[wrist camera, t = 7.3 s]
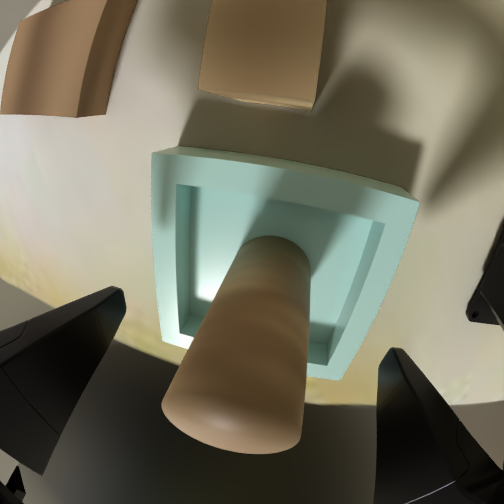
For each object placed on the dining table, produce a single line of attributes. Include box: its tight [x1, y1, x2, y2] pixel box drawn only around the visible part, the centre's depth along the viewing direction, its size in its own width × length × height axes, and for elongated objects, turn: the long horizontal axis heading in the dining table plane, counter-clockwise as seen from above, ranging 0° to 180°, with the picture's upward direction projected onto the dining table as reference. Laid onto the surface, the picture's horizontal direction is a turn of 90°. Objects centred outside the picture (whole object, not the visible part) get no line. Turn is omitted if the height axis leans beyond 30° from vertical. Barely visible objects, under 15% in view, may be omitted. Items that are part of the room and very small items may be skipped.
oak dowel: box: [162, 235, 311, 454], centre depth 8 cm, size 3×3×7 cm
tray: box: [151, 146, 420, 380], centre depth 11 cm, size 9×9×2 cm
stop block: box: [198, 0, 327, 111], centre depth 5 cm, size 2×6×4 cm, turn 173°
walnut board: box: [0, 0, 137, 118], centre depth 8 cm, size 8×6×2 cm
